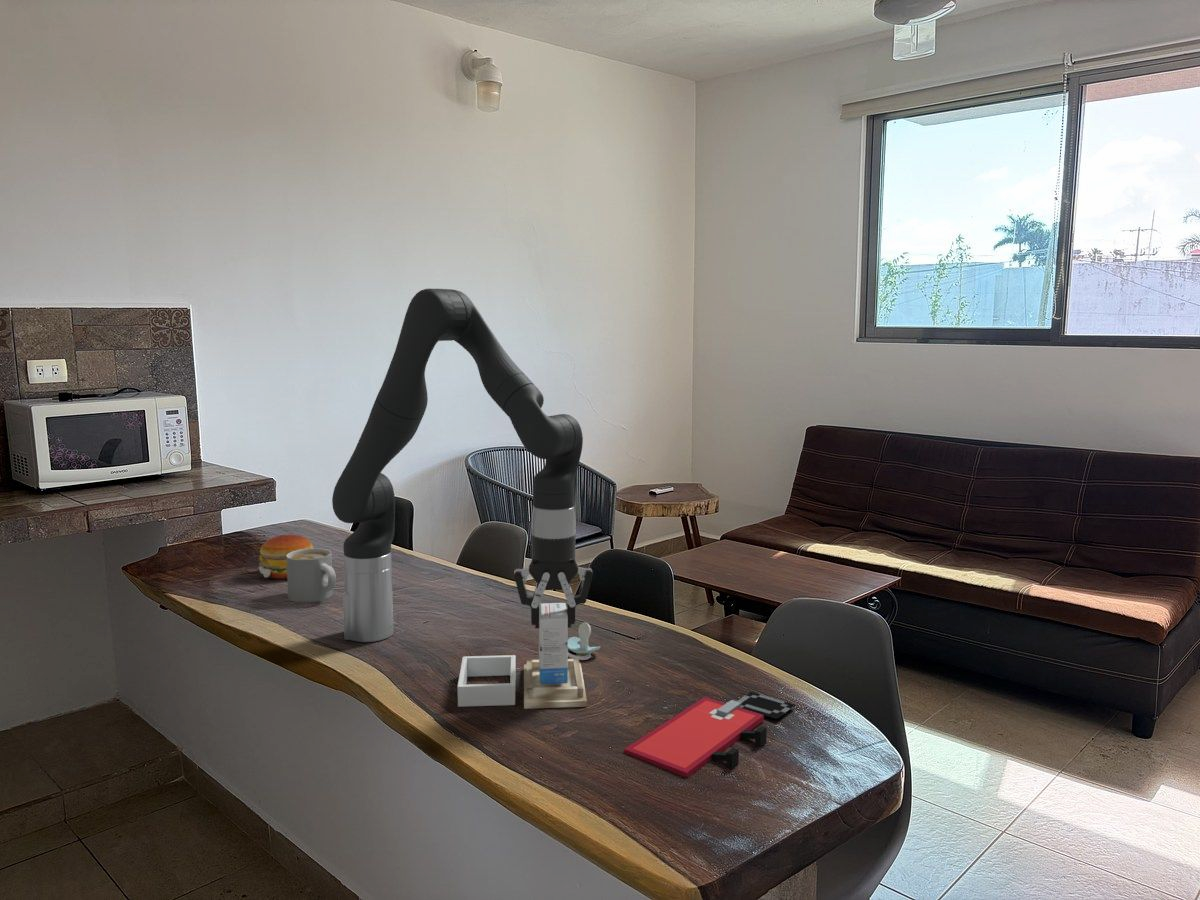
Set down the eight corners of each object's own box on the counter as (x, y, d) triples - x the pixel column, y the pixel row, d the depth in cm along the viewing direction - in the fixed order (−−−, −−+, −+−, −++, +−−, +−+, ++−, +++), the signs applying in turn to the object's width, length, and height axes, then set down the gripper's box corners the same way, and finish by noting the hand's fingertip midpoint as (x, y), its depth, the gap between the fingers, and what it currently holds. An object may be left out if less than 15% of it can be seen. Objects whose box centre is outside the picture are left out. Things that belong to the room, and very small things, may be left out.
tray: (524, 708, 143) (523, 694, 143) (523, 669, 159) (523, 656, 159) (586, 706, 144) (587, 692, 144) (580, 668, 160) (580, 655, 160)
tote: (457, 706, 144) (457, 686, 143) (463, 674, 157) (462, 656, 156) (515, 704, 145) (514, 685, 144) (515, 673, 157) (515, 655, 157)
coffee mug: (280, 595, 200) (278, 553, 199) (321, 586, 207) (319, 545, 206) (306, 609, 191) (304, 565, 189) (348, 599, 198) (346, 557, 196)
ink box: (568, 684, 147) (568, 601, 145) (539, 685, 147) (539, 602, 145) (566, 664, 156) (566, 585, 153) (538, 665, 155) (538, 586, 153)
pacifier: (581, 665, 162) (604, 656, 166) (580, 634, 161) (604, 625, 165) (556, 654, 167) (579, 645, 171) (555, 623, 166) (578, 615, 170)
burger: (327, 572, 219) (325, 533, 217) (282, 585, 208) (280, 545, 206) (292, 563, 226) (290, 526, 225) (247, 576, 215) (244, 537, 213)
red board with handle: (805, 713, 143) (727, 689, 152) (806, 697, 142) (727, 674, 152) (709, 790, 120) (624, 757, 129) (709, 771, 120) (623, 740, 129)
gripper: (511, 537, 143) (511, 635, 146) (597, 536, 144) (596, 633, 147) (511, 526, 150) (512, 619, 153) (593, 525, 152) (592, 618, 154)
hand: (553, 626), depth 150 cm, fingers closed on ink box, 5 cm apart
